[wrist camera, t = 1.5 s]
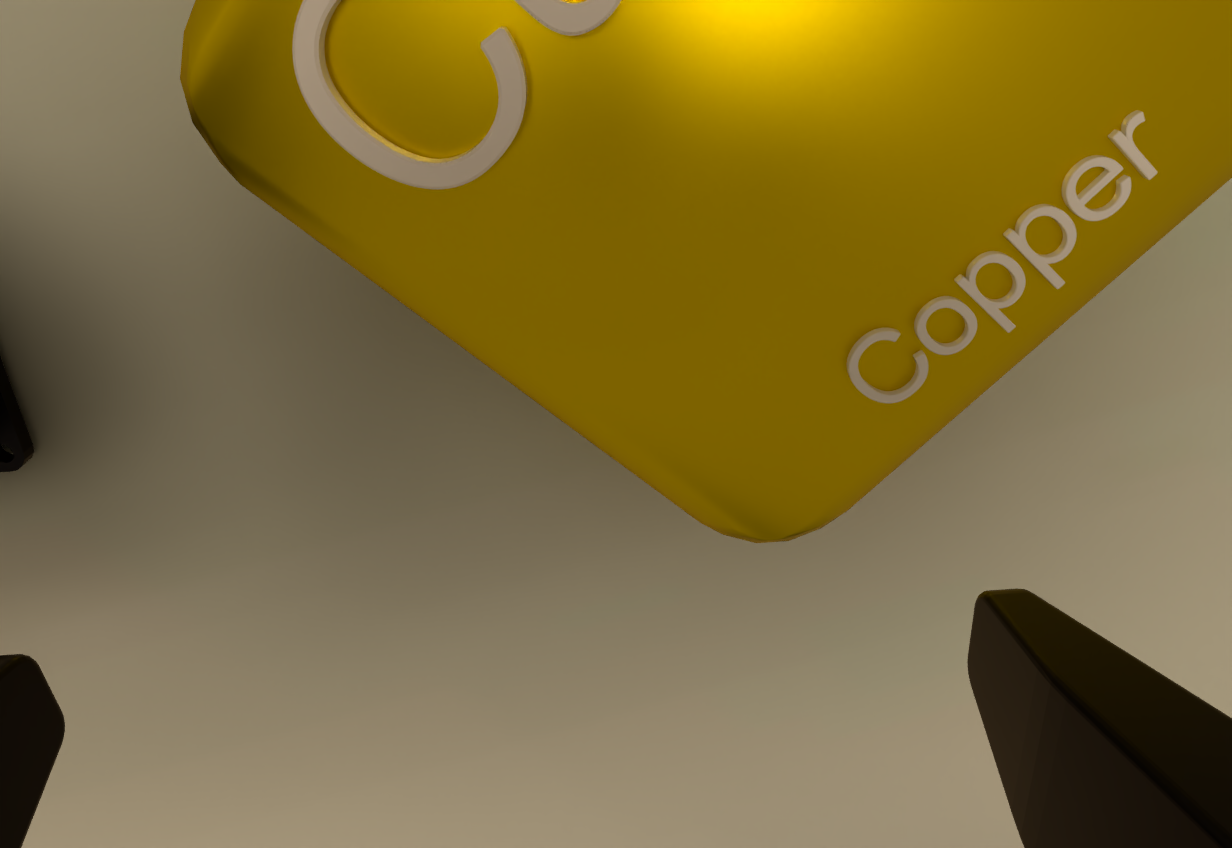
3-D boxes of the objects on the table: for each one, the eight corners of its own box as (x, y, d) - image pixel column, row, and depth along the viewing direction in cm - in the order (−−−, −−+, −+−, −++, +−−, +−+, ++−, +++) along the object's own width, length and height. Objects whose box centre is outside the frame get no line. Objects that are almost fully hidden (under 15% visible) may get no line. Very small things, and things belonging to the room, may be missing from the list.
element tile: (745, 478, 23) (777, 597, 19) (222, 74, 18) (109, 111, 14) (1273, -14, 18) (1482, -2, 14) (733, -753, 13) (794, -1087, 9)
